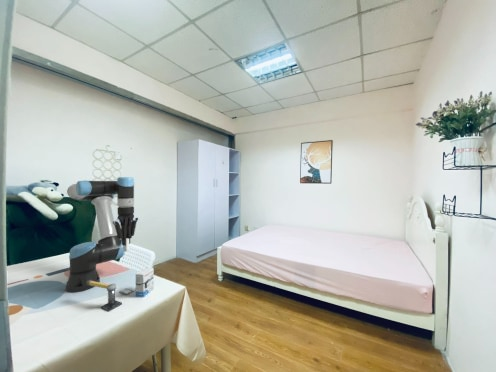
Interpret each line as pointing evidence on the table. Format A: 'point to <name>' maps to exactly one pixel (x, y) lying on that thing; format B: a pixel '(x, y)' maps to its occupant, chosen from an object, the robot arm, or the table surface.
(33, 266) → the table surface
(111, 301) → the grey square fixture
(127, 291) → the label tile
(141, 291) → the ink box
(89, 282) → the swing arm
